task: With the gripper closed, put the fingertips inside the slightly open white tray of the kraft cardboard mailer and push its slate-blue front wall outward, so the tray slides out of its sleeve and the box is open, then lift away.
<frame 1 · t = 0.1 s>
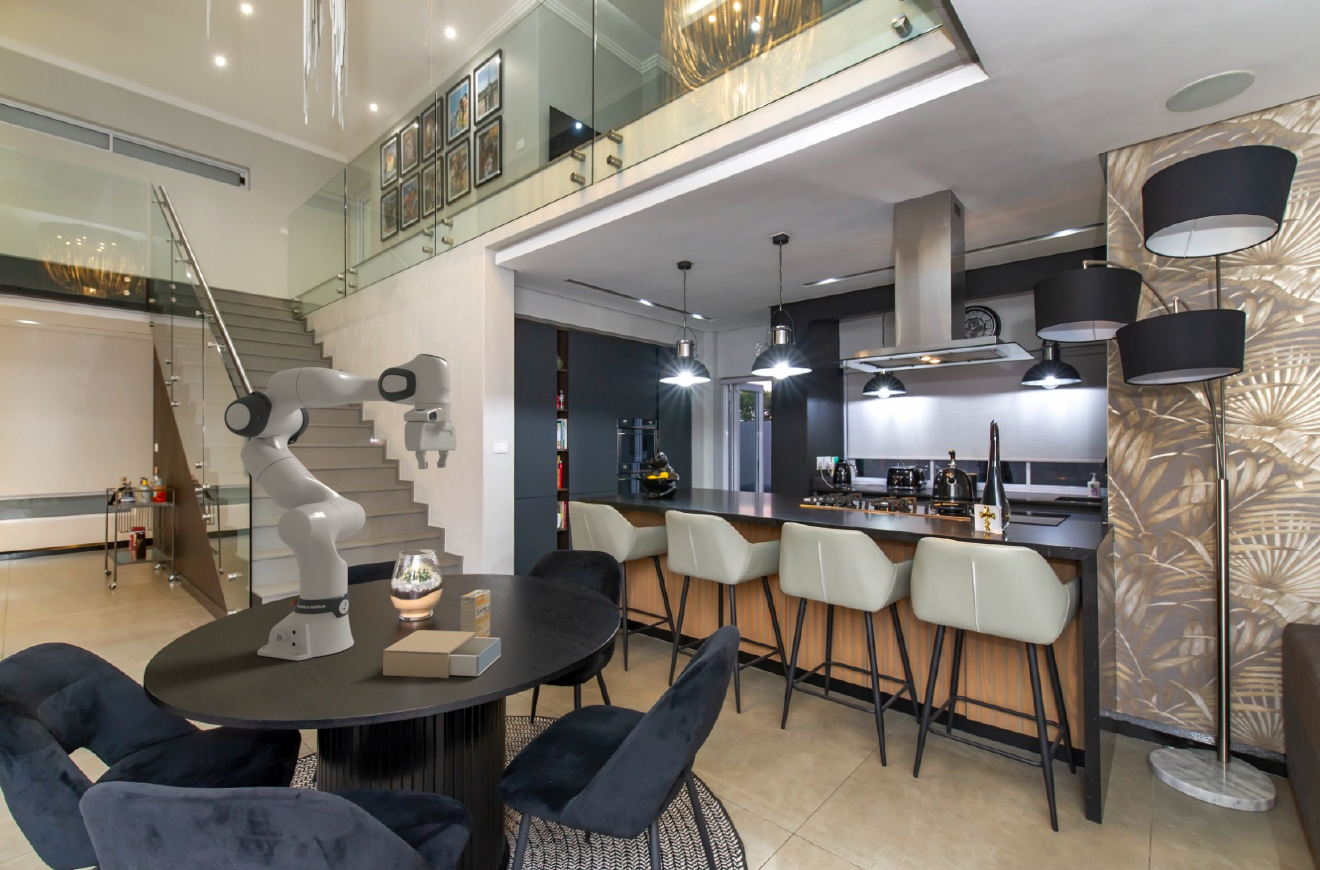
hand: (432, 468, 150), 48 cm above the table, tool pointing down, fingers open, 8 cm apart
supplement box: (475, 641, 158), on the table
mailer sleeve: (431, 664, 140), on the table
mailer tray: (460, 654, 139), point 3 cm above the table, slide at 7.5 cm
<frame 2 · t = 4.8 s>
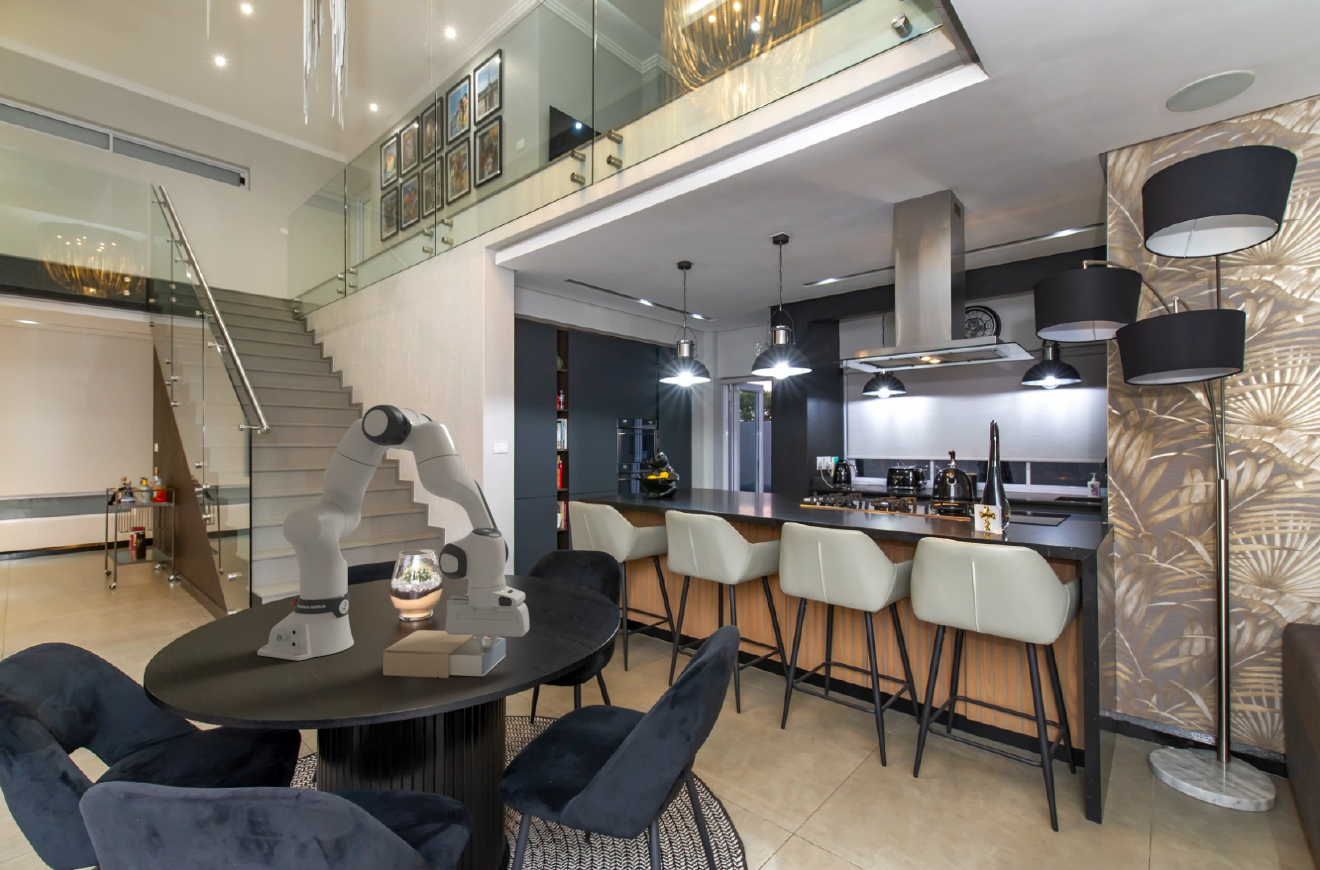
hand: (487, 652, 139), 3 cm above the table, tool pointing down, fingers closed
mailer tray: (465, 655, 139), point 3 cm above the table, slide at 8.8 cm, touching gripper
everything else where it was.
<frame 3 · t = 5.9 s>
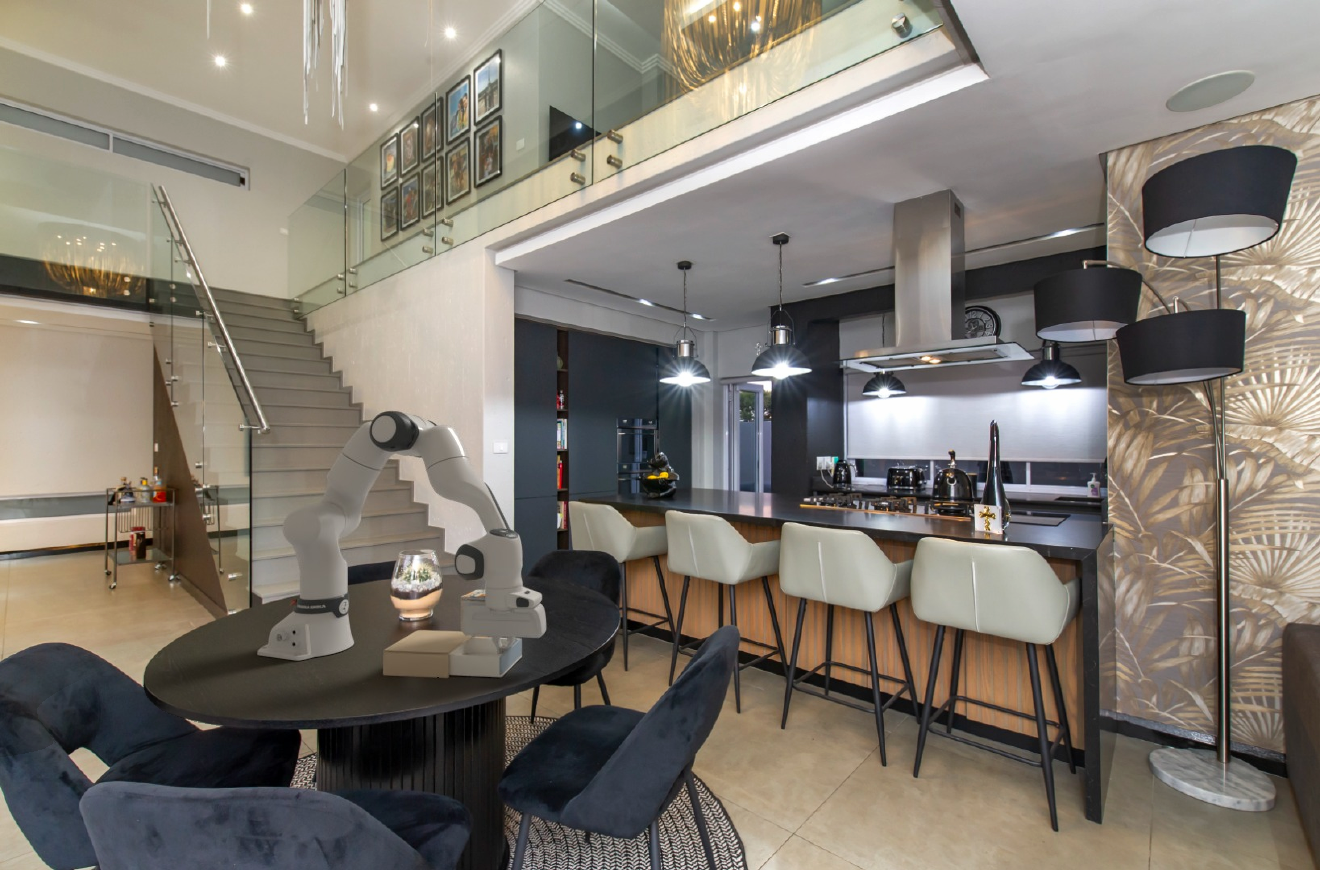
hand: (504, 654, 138), 3 cm above the table, tool pointing down, fingers closed
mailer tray: (482, 655, 139), point 3 cm above the table, slide at 13.0 cm
everything else where it was.
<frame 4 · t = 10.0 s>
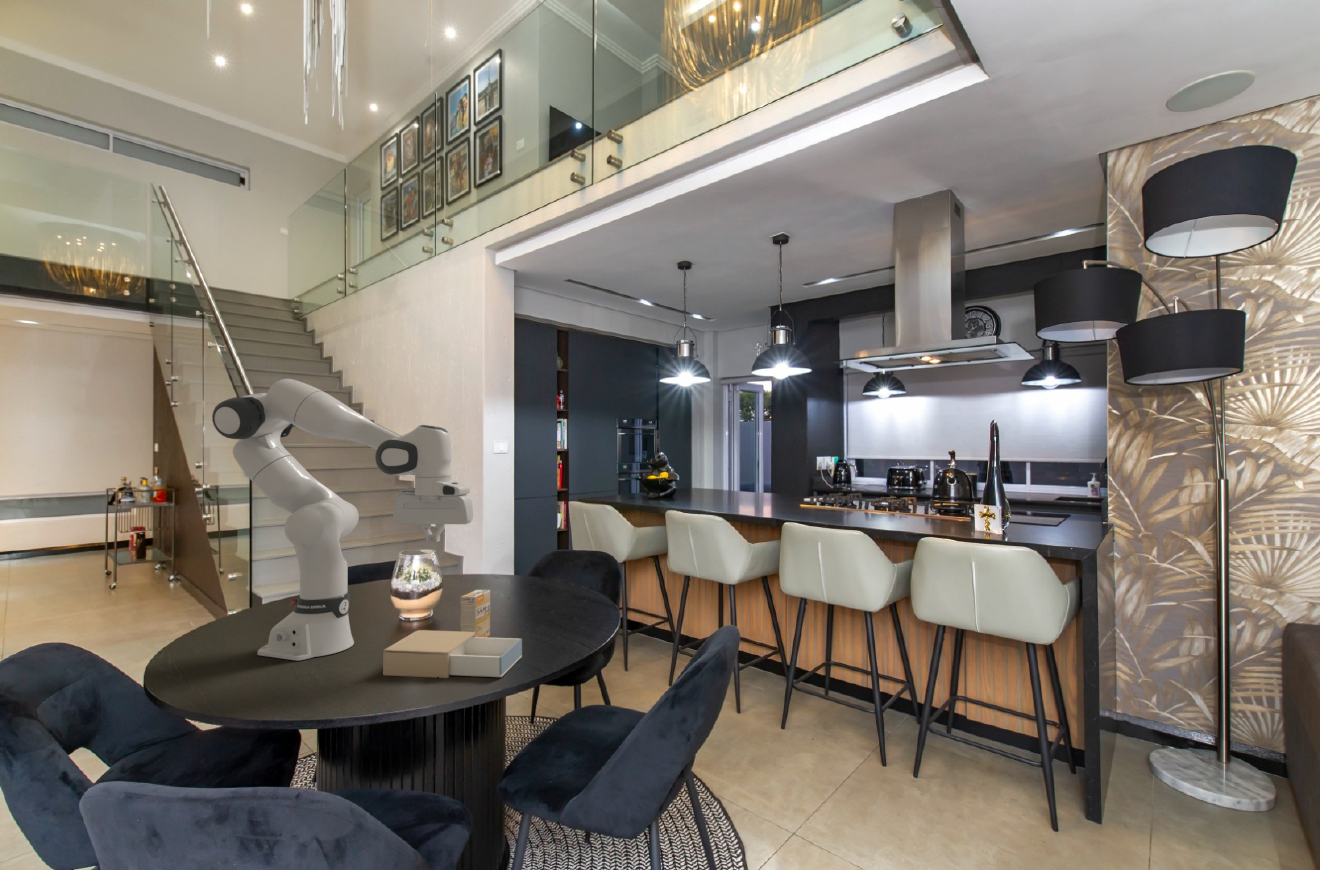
hand: (433, 541, 147), 29 cm above the table, tool pointing down, fingers closed
nothing on the table moved.
at the end: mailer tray slide at 13.0 cm; supplement box moved 0.2 cm from its start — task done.
